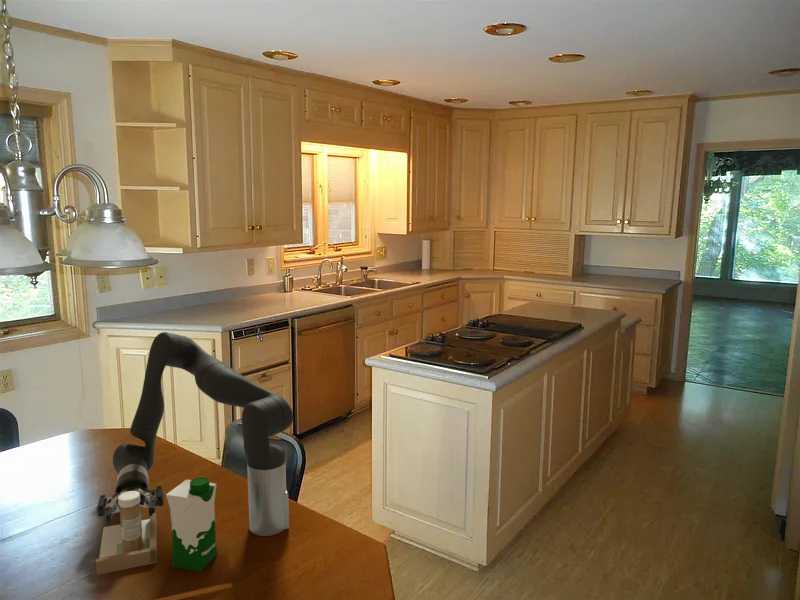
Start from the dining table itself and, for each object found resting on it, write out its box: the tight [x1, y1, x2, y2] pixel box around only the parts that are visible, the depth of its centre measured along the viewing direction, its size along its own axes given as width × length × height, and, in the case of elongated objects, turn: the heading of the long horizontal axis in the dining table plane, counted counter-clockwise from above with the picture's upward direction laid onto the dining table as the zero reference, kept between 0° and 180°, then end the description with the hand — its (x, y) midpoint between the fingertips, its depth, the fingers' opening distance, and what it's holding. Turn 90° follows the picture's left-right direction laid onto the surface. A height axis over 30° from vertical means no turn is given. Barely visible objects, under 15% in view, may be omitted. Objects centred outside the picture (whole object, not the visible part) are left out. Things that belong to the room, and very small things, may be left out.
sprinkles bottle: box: [118, 491, 143, 553], centre depth 136 cm, size 5×5×13 cm
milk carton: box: [165, 477, 218, 573], centre depth 133 cm, size 9×9×20 cm
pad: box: [116, 538, 150, 555], centre depth 137 cm, size 7×7×1 cm
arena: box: [95, 512, 158, 575], centre depth 140 cm, size 12×20×4 cm, turn 22°
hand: (130, 515), depth 136 cm, fingers open, 8 cm apart
